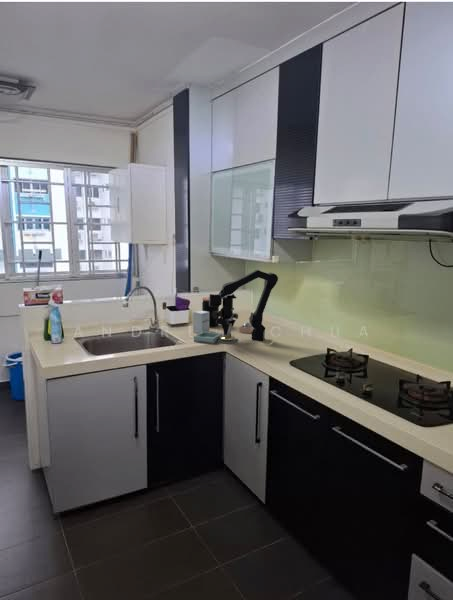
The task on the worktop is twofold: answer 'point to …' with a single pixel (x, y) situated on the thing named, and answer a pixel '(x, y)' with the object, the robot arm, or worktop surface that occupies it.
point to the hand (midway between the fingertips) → (227, 333)
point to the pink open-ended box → (245, 329)
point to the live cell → (228, 332)
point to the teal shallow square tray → (207, 337)
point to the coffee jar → (210, 311)
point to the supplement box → (200, 321)
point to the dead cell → (247, 325)
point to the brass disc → (227, 338)
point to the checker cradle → (227, 341)
